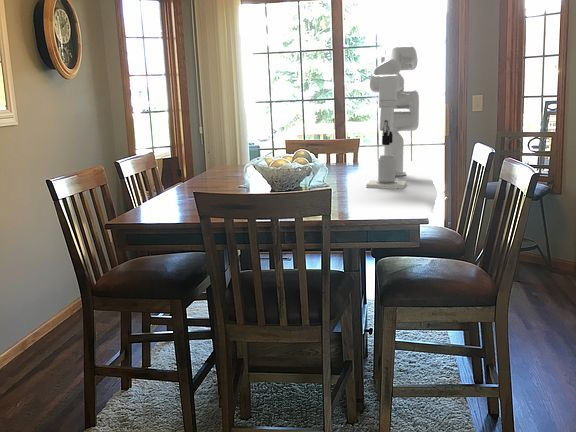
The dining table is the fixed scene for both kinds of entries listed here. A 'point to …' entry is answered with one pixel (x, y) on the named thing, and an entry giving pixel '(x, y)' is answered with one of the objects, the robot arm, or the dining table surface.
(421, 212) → the dining table surface
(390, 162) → the can
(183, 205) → the dining table surface
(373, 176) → the dining table surface
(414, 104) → the robot arm
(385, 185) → the tile
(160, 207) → the dining table surface
